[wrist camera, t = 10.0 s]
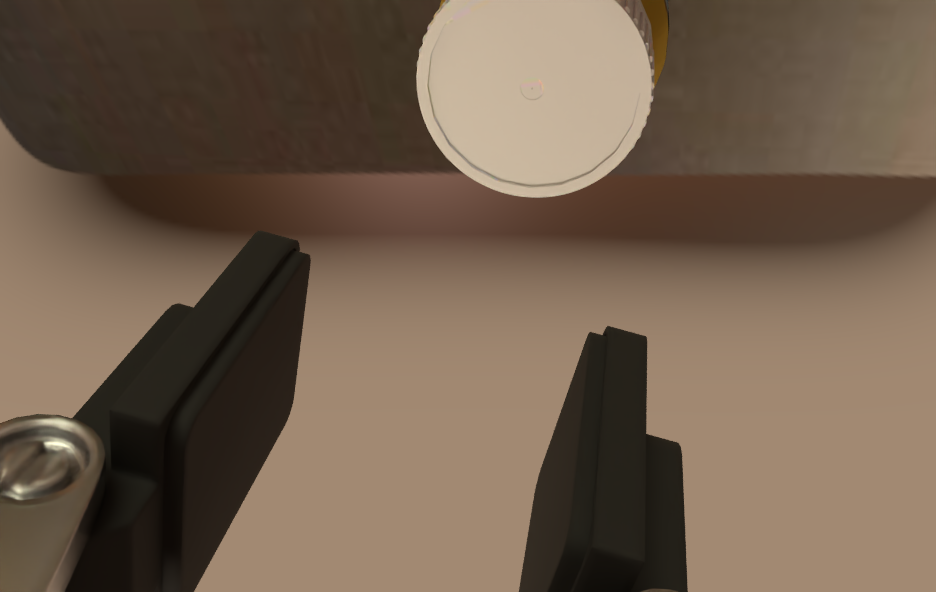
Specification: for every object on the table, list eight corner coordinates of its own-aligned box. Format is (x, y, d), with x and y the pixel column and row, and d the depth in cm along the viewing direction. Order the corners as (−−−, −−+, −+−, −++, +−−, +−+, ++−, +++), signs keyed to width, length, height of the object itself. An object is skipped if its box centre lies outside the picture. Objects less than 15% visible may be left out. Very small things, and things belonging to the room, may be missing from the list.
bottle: (694, -92, 33) (719, 3, 21) (624, 79, 37) (608, 247, 24) (520, -154, 33) (439, -97, 21) (468, 23, 37) (373, 163, 24)
